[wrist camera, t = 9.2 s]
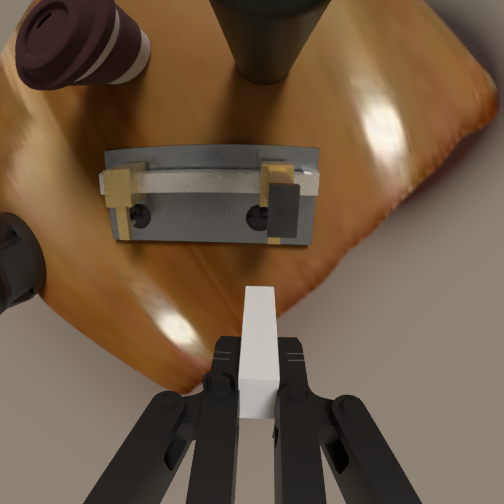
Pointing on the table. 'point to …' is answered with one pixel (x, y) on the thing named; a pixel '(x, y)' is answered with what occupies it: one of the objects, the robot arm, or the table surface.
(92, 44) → the coffee cup
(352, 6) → the table surface
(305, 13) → the wine bottle
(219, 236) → the trammel plate
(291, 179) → the sliding leg
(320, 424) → the robot arm
